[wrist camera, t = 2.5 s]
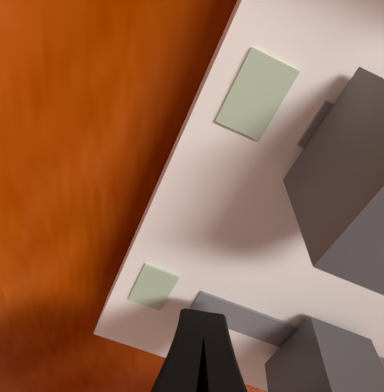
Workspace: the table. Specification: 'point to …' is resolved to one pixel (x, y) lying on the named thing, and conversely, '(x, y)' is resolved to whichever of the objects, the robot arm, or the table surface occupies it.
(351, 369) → the block
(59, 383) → the table surface
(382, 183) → the middle breaker
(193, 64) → the table surface
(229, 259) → the breaker panel
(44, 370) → the table surface
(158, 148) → the table surface
